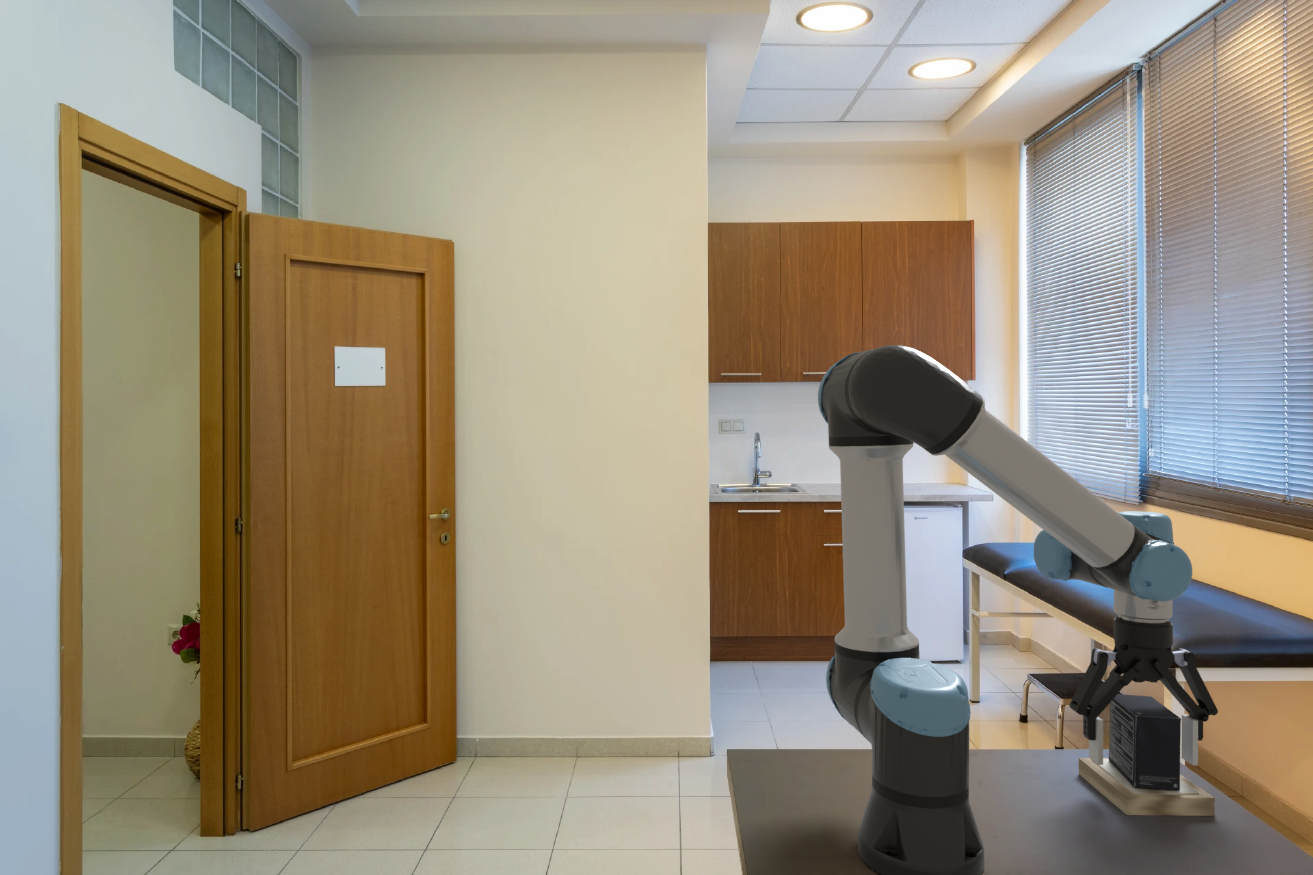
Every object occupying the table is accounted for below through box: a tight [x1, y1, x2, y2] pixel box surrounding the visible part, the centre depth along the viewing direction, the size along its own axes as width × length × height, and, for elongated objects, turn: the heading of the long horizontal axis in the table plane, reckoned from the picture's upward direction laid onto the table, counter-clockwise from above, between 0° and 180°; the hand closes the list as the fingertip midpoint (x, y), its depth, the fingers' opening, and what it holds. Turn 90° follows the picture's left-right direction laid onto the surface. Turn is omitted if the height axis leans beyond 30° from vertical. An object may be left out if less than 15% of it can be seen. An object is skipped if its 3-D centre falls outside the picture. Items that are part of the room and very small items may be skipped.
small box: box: [1108, 693, 1182, 791], centre depth 123 cm, size 11×6×10 cm, turn 170°
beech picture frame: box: [1078, 757, 1216, 817], centre depth 123 cm, size 12×14×3 cm
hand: (1142, 761), depth 123 cm, fingers open, 13 cm apart
